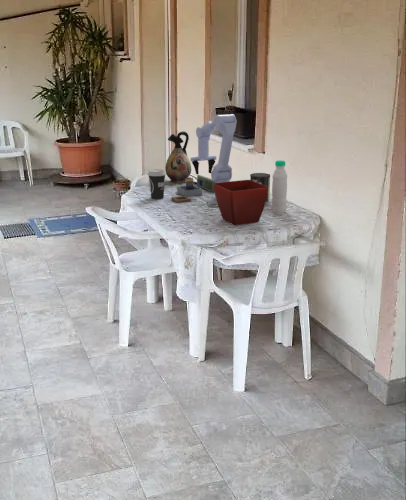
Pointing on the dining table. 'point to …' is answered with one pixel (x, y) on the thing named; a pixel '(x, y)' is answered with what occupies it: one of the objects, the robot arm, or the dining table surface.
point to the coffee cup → (157, 183)
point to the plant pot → (241, 201)
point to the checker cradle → (181, 199)
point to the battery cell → (189, 183)
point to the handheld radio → (205, 183)
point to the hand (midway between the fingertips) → (203, 173)
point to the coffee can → (262, 181)
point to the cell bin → (189, 191)
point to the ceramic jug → (178, 160)
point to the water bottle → (279, 188)
